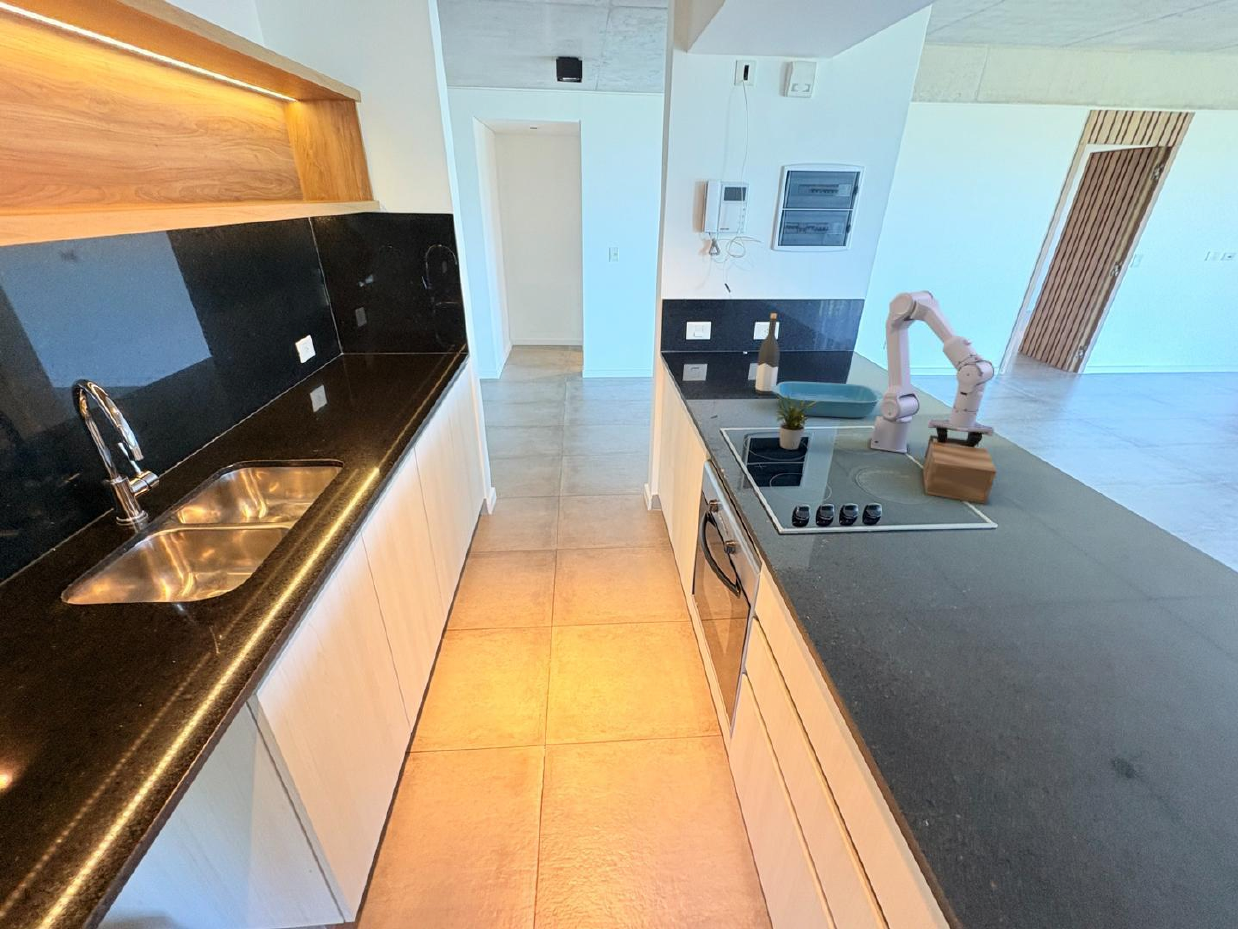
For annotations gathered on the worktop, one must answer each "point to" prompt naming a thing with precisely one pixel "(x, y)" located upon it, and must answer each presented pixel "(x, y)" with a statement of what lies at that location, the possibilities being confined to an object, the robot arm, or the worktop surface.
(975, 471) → the wooden box
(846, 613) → the worktop surface
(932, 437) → the drawer
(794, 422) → the house plant
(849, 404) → the casserole dish
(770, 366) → the wine bottle
